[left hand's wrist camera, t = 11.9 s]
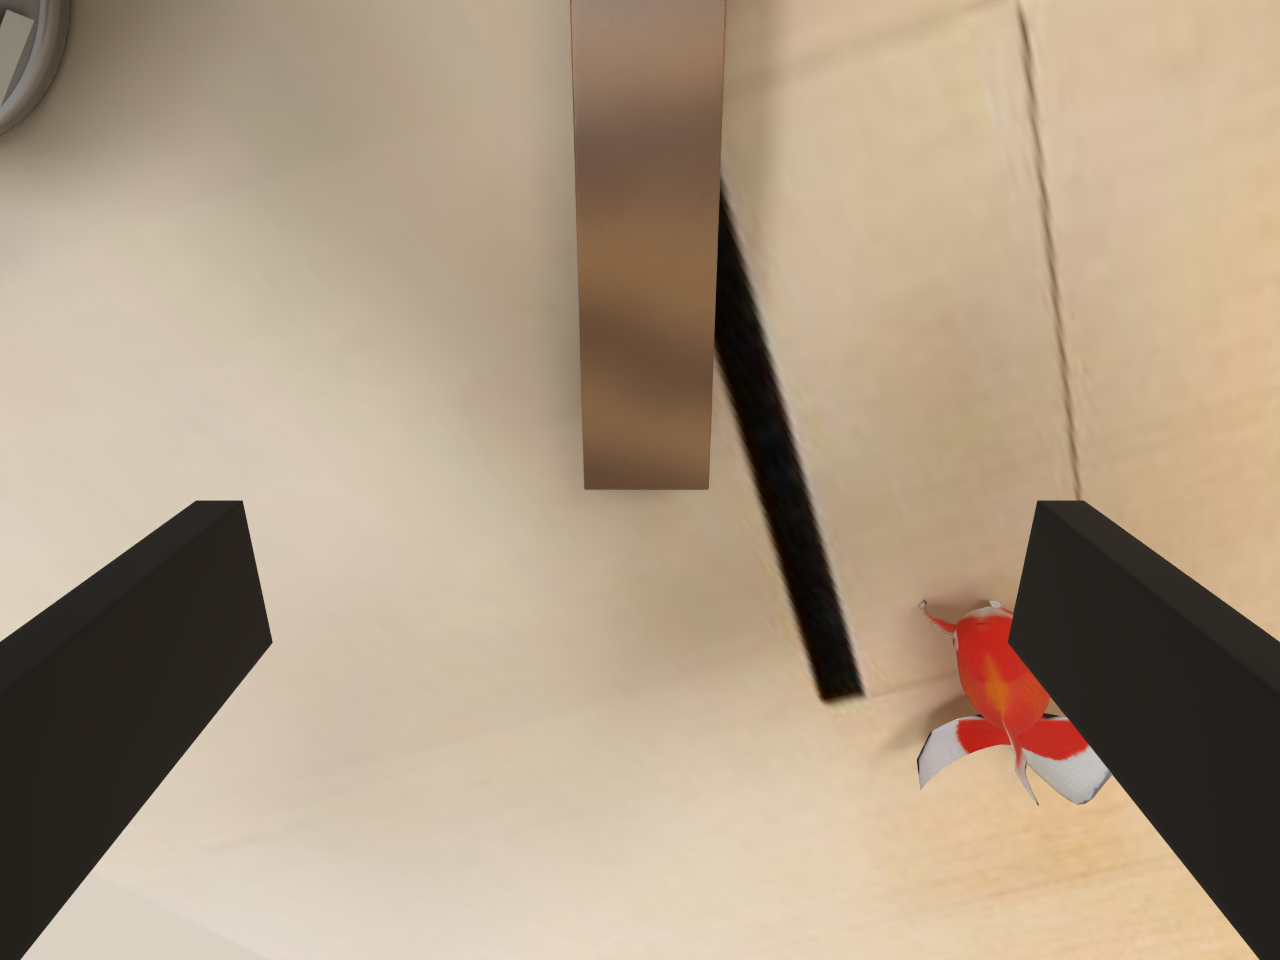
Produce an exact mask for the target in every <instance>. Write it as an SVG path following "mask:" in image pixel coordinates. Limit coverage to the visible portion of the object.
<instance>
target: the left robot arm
mask: <svg viewBox="0 0 1280 960" xmlns="http://www.w3.org/2000/svg"><path fill="white" fill-rule="evenodd" d="M69 15H70V0H0V135H1V134H3V133H4V132H6V131H8V130H10V129H11V128H12V127H14V126H15V125H16V124H18V123H19V122H20V121H22V120H23V119H24V118H25V117H26V116H27V115H28V114H29V113H30V112H31V111H32V110H33V109H34V108H35V106H36V105H37V104H38V102H39V101H40V100H41V99H42V97H43V96H44V94H45V93H46V91H47V89H48V88H49V86H50V84H51V82H52V81H53V78H54V76H55V74H56V71H57V69H58V67H59V65H60V61H61V58H62V55H63V51H64V48H65V43H66V38H67V33H68V27H69ZM272 643H273V642H272V637H271V633H270V628H269V623H268V618H267V614H266V609H265V604H264V600H263V595H262V590H261V585H260V581H259V576H258V571H257V566H256V562H255V557H254V552H253V548H252V543H251V538H250V533H249V529H248V524H247V519H246V515H245V510H244V505H243V501H195V502H194V503H192V504H191V505H189V506H188V507H187V508H185V509H184V510H183V511H181V512H180V513H178V514H177V515H176V516H174V517H173V518H171V519H170V520H169V521H167V522H166V523H164V524H163V525H162V526H160V527H159V528H158V529H156V530H155V531H153V532H152V533H151V534H149V535H148V536H146V537H145V538H144V539H142V540H141V541H140V542H138V543H137V544H135V545H134V546H133V547H131V548H130V549H128V550H127V551H126V552H124V553H123V554H122V555H120V556H119V557H117V558H116V559H115V560H113V561H112V562H110V563H109V564H108V565H106V566H105V567H103V568H102V569H101V570H99V571H98V572H97V573H95V574H94V575H92V576H91V577H90V578H88V579H87V580H85V581H84V582H83V583H81V584H80V585H79V586H77V587H76V588H74V589H73V590H72V591H70V592H69V593H67V594H66V595H65V596H63V597H62V598H60V599H59V600H58V601H56V602H55V603H54V604H52V605H51V606H49V607H48V608H47V609H45V610H44V611H42V612H41V613H40V614H38V615H37V616H36V617H34V618H33V619H31V620H30V621H29V622H27V623H26V624H24V625H23V626H22V627H20V628H19V629H18V630H16V631H15V632H13V633H12V634H11V635H9V636H8V637H6V638H5V639H4V640H2V641H1V642H0V960H20V959H21V958H22V957H23V956H24V954H25V953H26V952H27V951H28V949H29V948H30V947H31V946H32V944H33V943H34V942H35V941H36V939H37V938H38V937H39V936H40V934H41V933H42V932H43V931H44V929H45V928H46V927H47V926H48V924H49V923H50V922H51V921H52V919H53V918H54V917H55V916H56V914H57V913H58V912H59V910H60V909H61V908H62V907H63V905H64V904H65V903H66V902H67V900H68V899H69V898H70V897H71V895H72V894H73V893H74V892H75V890H76V889H77V888H78V887H79V885H80V884H81V883H82V882H83V880H84V879H85V878H86V877H87V875H88V874H89V873H90V872H91V870H92V869H93V868H94V866H95V865H96V864H97V863H98V861H99V860H100V859H101V858H102V856H103V855H104V854H105V853H106V851H107V850H108V849H109V848H110V846H111V845H112V844H113V843H114V841H115V840H116V839H117V838H118V836H119V835H120V834H121V833H122V831H123V830H124V829H125V827H126V826H127V825H128V824H129V822H130V821H131V820H132V819H133V817H134V816H135V815H136V814H137V812H138V811H139V810H140V809H141V807H142V806H143V805H144V804H145V802H146V801H147V800H148V799H149V797H150V796H151V795H152V794H153V792H154V791H155V790H156V789H157V787H158V786H159V785H160V783H161V782H162V781H163V780H164V778H165V777H166V776H167V775H168V773H169V772H170V771H171V770H172V768H173V767H174V766H175V765H176V763H177V762H178V761H179V760H180V758H181V757H182V756H183V755H184V753H185V752H186V751H187V750H188V748H189V747H190V746H191V745H192V743H193V742H194V741H195V739H196V738H197V737H198V736H199V734H200V733H201V732H202V731H203V729H204V728H205V727H206V726H207V724H208V723H209V722H210V721H211V719H212V718H213V717H214V716H215V714H216V713H217V712H218V711H219V709H220V708H221V707H222V706H223V704H224V703H225V702H226V701H227V699H228V698H229V697H230V695H231V694H232V693H233V692H234V690H235V689H236V688H237V687H238V685H239V684H240V683H241V682H242V680H243V679H244V678H245V677H246V675H247V674H248V673H249V672H250V670H251V669H252V668H253V667H254V665H255V664H256V663H257V662H258V660H259V659H260V658H261V656H262V655H263V654H264V653H265V651H266V650H267V649H268V648H269V646H270V645H271V644H272ZM1007 643H1008V644H1009V645H1010V646H1011V648H1012V649H1013V650H1014V651H1015V653H1016V654H1017V655H1018V657H1019V658H1020V659H1021V660H1022V662H1023V663H1024V664H1025V665H1026V667H1027V668H1028V669H1029V670H1030V672H1031V673H1032V674H1033V675H1034V677H1035V678H1036V679H1037V680H1038V682H1039V683H1040V684H1041V685H1042V687H1043V688H1044V689H1045V690H1046V692H1047V693H1048V694H1049V695H1050V697H1051V698H1052V699H1053V701H1054V702H1055V703H1056V704H1057V706H1058V707H1059V708H1060V709H1061V711H1062V712H1063V713H1064V714H1065V716H1066V717H1067V718H1068V719H1069V721H1070V722H1071V723H1072V724H1073V726H1074V727H1075V728H1076V729H1077V731H1078V732H1079V733H1080V734H1081V736H1082V737H1083V738H1084V739H1085V741H1086V742H1087V743H1088V745H1089V746H1090V747H1091V748H1092V750H1093V751H1094V752H1095V753H1096V755H1097V756H1098V757H1099V758H1100V760H1101V761H1102V762H1103V763H1104V765H1105V766H1106V767H1107V768H1108V770H1109V771H1110V772H1111V773H1112V775H1113V776H1114V777H1115V778H1116V780H1117V781H1118V782H1119V783H1120V785H1121V786H1122V787H1123V789H1124V790H1125V791H1126V792H1127V794H1128V795H1129V796H1130V797H1131V799H1132V800H1133V801H1134V802H1135V804H1136V805H1137V806H1138V807H1139V809H1140V810H1141V811H1142V812H1143V814H1144V815H1145V816H1146V817H1147V819H1148V820H1149V821H1150V822H1151V824H1152V825H1153V826H1154V827H1155V829H1156V830H1157V831H1158V833H1159V834H1160V835H1161V836H1162V838H1163V839H1164V840H1165V841H1166V843H1167V844H1168V845H1169V846H1170V848H1171V849H1172V850H1173V851H1174V853H1175V854H1176V855H1177V856H1178V858H1179V859H1180V860H1181V861H1182V863H1183V864H1184V865H1185V866H1186V868H1187V869H1188V870H1189V872H1190V873H1191V874H1192V875H1193V877H1194V878H1195V879H1196V880H1197V882H1198V883H1199V884H1200V885H1201V887H1202V888H1203V889H1204V890H1205V892H1206V893H1207V894H1208V895H1209V897H1210V898H1211V899H1212V900H1213V902H1214V903H1215V904H1216V905H1217V907H1218V908H1219V909H1220V910H1221V912H1222V913H1223V914H1224V916H1225V917H1226V918H1227V919H1228V921H1229V922H1230V923H1231V924H1232V926H1233V927H1234V928H1235V929H1236V931H1237V932H1238V933H1239V934H1240V936H1241V937H1242V938H1243V939H1244V941H1245V942H1246V943H1247V944H1248V946H1249V947H1250V948H1251V949H1252V951H1253V952H1254V953H1255V954H1256V956H1257V957H1258V958H1259V960H1280V642H1279V641H1278V640H1276V639H1275V638H1274V637H1272V636H1271V635H1269V634H1268V633H1267V632H1265V631H1264V630H1262V629H1261V628H1260V627H1258V626H1257V625H1256V624H1254V623H1253V622H1251V621H1250V620H1249V619H1247V618H1246V617H1244V616H1243V615H1242V614H1240V613H1239V612H1238V611H1236V610H1235V609H1233V608H1232V607H1231V606H1229V605H1228V604H1226V603H1225V602H1224V601H1222V600H1221V599H1220V598H1218V597H1217V596H1215V595H1214V594H1213V593H1211V592H1210V591H1208V590H1207V589H1206V588H1204V587H1203V586H1201V585H1200V584H1199V583H1197V582H1196V581H1195V580H1193V579H1192V578H1190V577H1189V576H1188V575H1186V574H1185V573H1183V572H1182V571H1181V570H1179V569H1178V568H1177V567H1175V566H1174V565H1172V564H1171V563H1170V562H1168V561H1167V560H1165V559H1164V558H1163V557H1161V556H1160V555H1158V554H1157V553H1156V552H1154V551H1153V550H1152V549H1150V548H1149V547H1147V546H1146V545H1145V544H1143V543H1142V542H1140V541H1139V540H1138V539H1136V538H1135V537H1134V536H1132V535H1131V534H1129V533H1128V532H1127V531H1125V530H1124V529H1122V528H1121V527H1120V526H1118V525H1117V524H1116V523H1114V522H1113V521H1111V520H1110V519H1109V518H1107V517H1106V516H1104V515H1103V514H1102V513H1100V512H1099V511H1097V510H1096V509H1095V508H1093V507H1092V506H1091V505H1089V504H1088V503H1086V502H1085V501H1037V505H1036V510H1035V514H1034V519H1033V524H1032V529H1031V533H1030V538H1029V543H1028V548H1027V552H1026V557H1025V562H1024V566H1023V571H1022V576H1021V581H1020V585H1019V590H1018V595H1017V600H1016V604H1015V609H1014V614H1013V618H1012V623H1011V628H1010V633H1009V637H1008V642H1007Z"/></svg>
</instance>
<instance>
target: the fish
mask: <svg viewBox="0 0 1280 960" xmlns="http://www.w3.org/2000/svg"><path fill="white" fill-rule="evenodd" d="M989 602H990V607H984V608H980V609H976V610H972V611H970V612H968V613H967V614H965V615H964V616H962V617H961V618H960V620H959V621H958V623H957V624H953V623H949V622H946V621H943V620H941V619H938V618H935V617H933V616H931V615H929V614H928V613H926V610H925V606H926V602H925V600H924V601H923V602H922V603H921V604H920V605H919V607H920V608H921V610H922V611H923V613H924V615H925V617H926V618H927V619H928V620H929V621H930V622H931V623H932V624H933V625H934V626H935V627H936V628H937V629H939V630H940V631H942V632H944V633H947V634H951V635H954V636H953V644H954V647H955V649H956V653H957V660H958V669H959V675H960V681H961V684H962V687H963V689H964V691H965V693H966V694H967V696H968V698H969V700H970V702H971V703H972V705H973V706H974V707H975V709H976V710H977V711H978V712H979V713H980V714H979V715H974V716H968V717H963V718H957V719H955V720H953V721H951V722H948V723H946V724H944V725H942V726H940V727H939V728H937V729H935V730H933V731H931V732H930V734H929V736H928V738H927V740H926V742H925V744H924V746H923V748H922V750H921V752H920V754H919V756H918V758H917V765H918V774H919V782H920V791H921V789H922V788H923V786H924V785H925V784H926V783H927V782H928V781H929V780H930V779H931V778H932V777H933V776H934V775H935V774H937V773H938V772H939V771H940V770H942V769H943V768H945V767H946V766H947V765H949V764H951V763H952V762H954V761H956V760H957V759H959V758H961V757H963V756H965V755H967V754H970V753H972V752H975V751H977V750H980V749H984V748H987V747H991V746H995V745H1006V746H1008V747H1010V748H1011V749H1012V750H1013V751H1014V755H1015V771H1016V773H1017V775H1018V777H1019V779H1020V781H1021V782H1022V784H1023V786H1024V788H1025V789H1026V790H1027V792H1028V793H1029V794H1030V795H1031V797H1032V798H1033V799H1034V801H1035V802H1036V803H1037V805H1038V806H1039V804H1038V802H1037V800H1036V798H1035V796H1034V794H1033V792H1032V790H1031V787H1030V785H1029V783H1028V780H1027V777H1026V771H1025V770H1026V765H1027V764H1028V765H1029V766H1030V767H1031V768H1032V769H1033V770H1034V771H1035V772H1036V773H1037V774H1038V775H1039V776H1040V777H1041V778H1042V779H1043V780H1044V781H1046V782H1047V783H1048V784H1049V785H1050V786H1051V787H1052V788H1053V789H1055V790H1056V791H1057V792H1058V793H1059V794H1061V795H1062V796H1063V797H1065V798H1066V799H1068V800H1070V801H1071V802H1073V803H1075V804H1085V803H1087V802H1088V801H1090V800H1091V799H1093V797H1094V796H1095V795H1096V794H1097V792H1098V791H1099V790H1100V789H1101V787H1102V786H1103V785H1104V784H1105V782H1106V781H1107V780H1108V779H1109V778H1110V777H1111V775H1112V773H1111V772H1110V771H1109V770H1108V768H1107V767H1106V766H1105V765H1104V763H1103V762H1102V761H1101V760H1100V758H1099V757H1098V756H1097V755H1096V753H1095V752H1094V751H1093V750H1092V748H1091V747H1090V746H1089V745H1088V743H1087V742H1086V741H1085V739H1084V738H1083V737H1082V736H1081V734H1080V733H1079V732H1078V731H1077V729H1076V728H1075V727H1074V726H1073V724H1072V723H1071V722H1070V721H1069V719H1068V718H1067V717H1063V716H1057V715H1051V714H1045V713H1044V711H1045V710H1046V708H1047V706H1048V703H1049V699H1050V695H1049V694H1048V693H1047V692H1046V690H1045V689H1044V688H1043V687H1042V685H1041V684H1040V683H1039V682H1038V680H1037V679H1036V678H1035V677H1034V675H1033V674H1032V673H1031V672H1030V670H1029V669H1028V668H1027V667H1026V665H1025V664H1024V663H1023V662H1022V660H1021V659H1020V658H1019V657H1018V655H1017V654H1016V653H1015V651H1014V650H1013V649H1012V648H1011V646H1010V645H1009V644H1008V643H1007V642H1008V637H1009V633H1010V628H1011V623H1012V618H1013V614H1014V613H1012V612H1010V611H1008V610H1006V609H1003V608H1001V604H1000V602H998V601H992V600H990V601H989Z"/></svg>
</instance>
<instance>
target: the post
mask: <svg viewBox="0 0 1280 960" xmlns="http://www.w3.org/2000/svg"><path fill="white" fill-rule="evenodd" d="M570 15H571V50H572V84H573V119H574V153H575V188H576V222H577V257H578V291H579V326H580V360H581V395H582V430H583V464H584V489H586V490H707V489H708V488H709V463H710V436H711V409H712V381H713V354H714V327H715V299H716V272H717V245H718V217H719V190H720V163H721V135H722V108H723V81H724V53H725V26H726V0H570Z"/></svg>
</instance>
